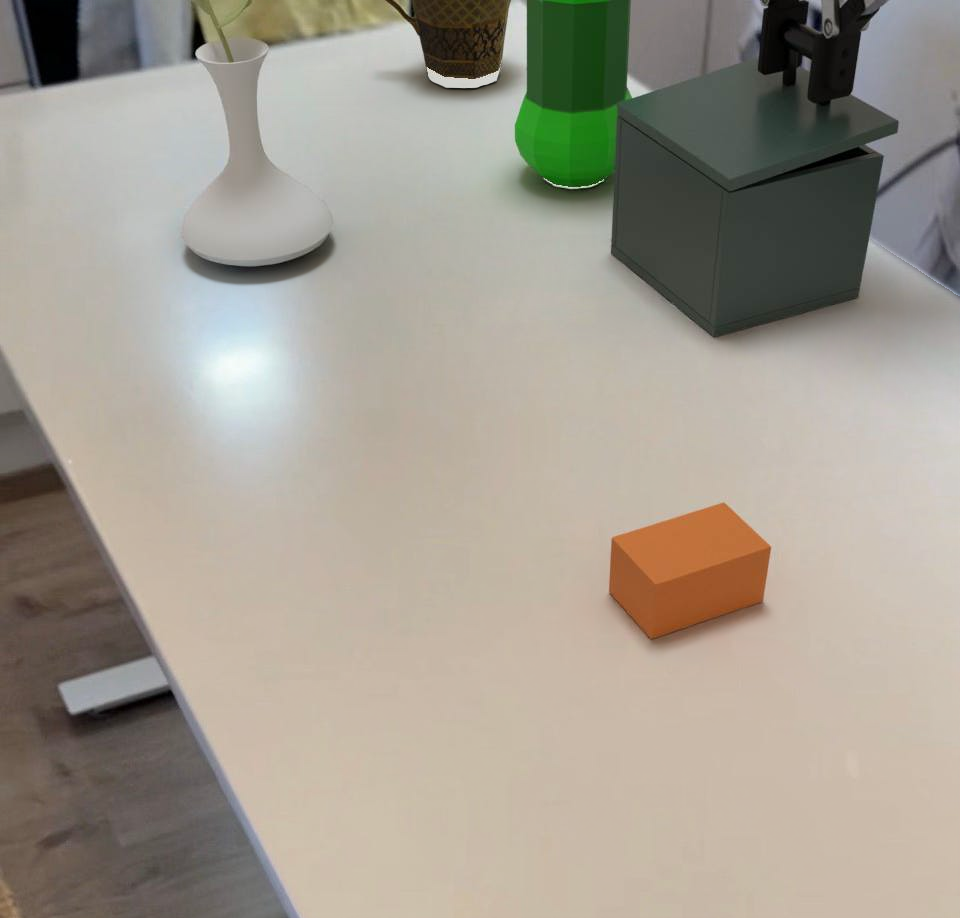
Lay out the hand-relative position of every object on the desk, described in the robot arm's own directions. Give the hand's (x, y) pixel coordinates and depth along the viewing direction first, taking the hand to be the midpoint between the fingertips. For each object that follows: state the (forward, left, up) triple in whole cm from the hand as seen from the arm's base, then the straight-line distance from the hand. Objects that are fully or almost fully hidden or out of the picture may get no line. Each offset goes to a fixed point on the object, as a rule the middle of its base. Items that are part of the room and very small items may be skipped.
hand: (804, 81), depth 93 cm
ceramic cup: (+24, -39, -13) cm, 48 cm away
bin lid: (+3, +1, -2) cm, 4 cm away
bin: (+4, +2, -12) cm, 13 cm away
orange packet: (+12, +39, -12) cm, 42 cm away
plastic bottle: (+14, -16, -13) cm, 25 cm away
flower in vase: (+39, -6, -13) cm, 41 cm away
